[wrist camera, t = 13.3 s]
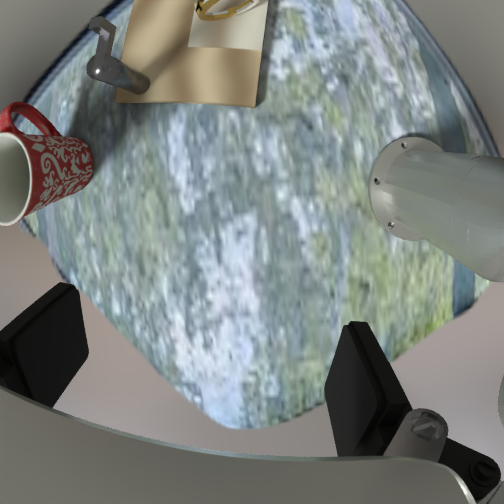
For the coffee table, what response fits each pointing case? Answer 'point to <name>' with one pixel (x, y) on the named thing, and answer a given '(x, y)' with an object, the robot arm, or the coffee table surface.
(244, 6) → the ring
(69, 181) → the mug
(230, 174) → the coffee table surface
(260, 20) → the board
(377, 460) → the robot arm
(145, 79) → the keeper hook
